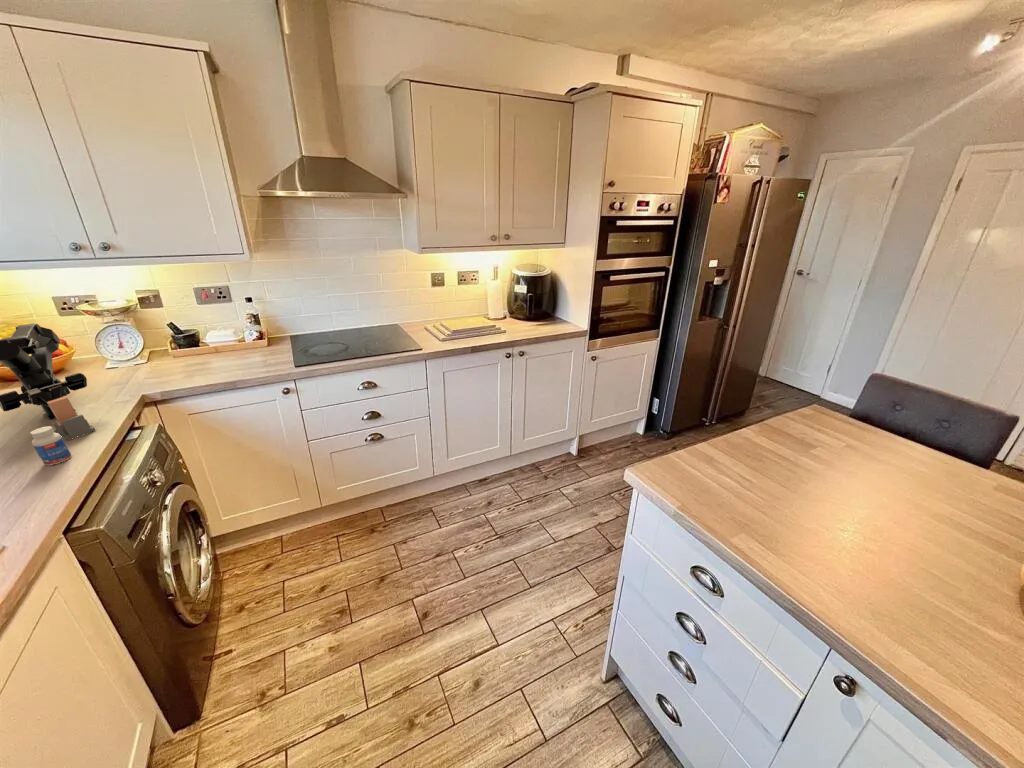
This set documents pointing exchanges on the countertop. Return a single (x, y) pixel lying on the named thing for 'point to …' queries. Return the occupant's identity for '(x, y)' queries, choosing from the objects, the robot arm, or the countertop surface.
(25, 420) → the countertop surface
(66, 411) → the orange tall block
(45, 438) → the pill bottle
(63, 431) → the switch base
